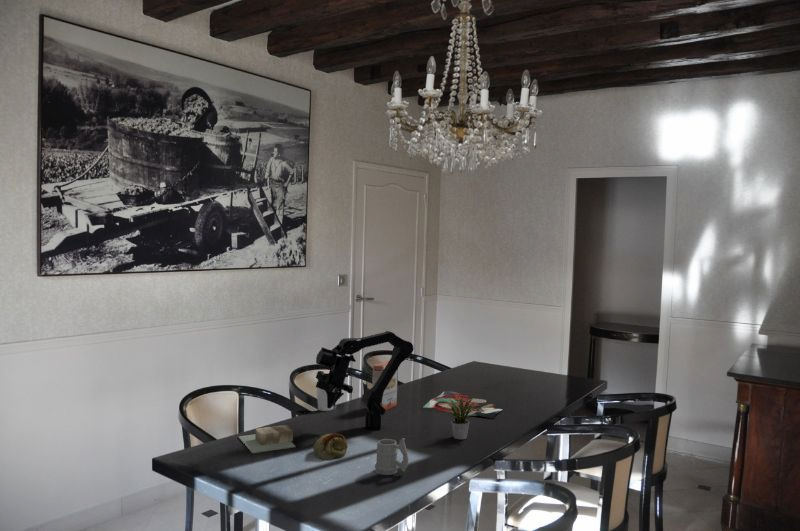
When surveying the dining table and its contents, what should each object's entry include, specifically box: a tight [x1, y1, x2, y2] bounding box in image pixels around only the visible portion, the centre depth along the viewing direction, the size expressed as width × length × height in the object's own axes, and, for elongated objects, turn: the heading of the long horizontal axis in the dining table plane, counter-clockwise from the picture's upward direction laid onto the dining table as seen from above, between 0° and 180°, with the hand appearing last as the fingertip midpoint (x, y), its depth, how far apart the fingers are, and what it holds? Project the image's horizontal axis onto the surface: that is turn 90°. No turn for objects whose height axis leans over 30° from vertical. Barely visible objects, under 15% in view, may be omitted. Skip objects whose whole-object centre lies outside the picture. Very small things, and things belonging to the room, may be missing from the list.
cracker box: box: [371, 360, 399, 412], centre depth 284 cm, size 14×6×21 cm, turn 151°
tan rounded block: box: [254, 424, 294, 445], centre depth 234 cm, size 4×8×12 cm
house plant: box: [445, 396, 477, 440], centre depth 243 cm, size 14×14×16 cm
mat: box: [238, 433, 296, 454], centre depth 233 cm, size 16×20×1 cm
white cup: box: [316, 387, 334, 412], centre depth 281 cm, size 8×8×10 cm
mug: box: [374, 437, 409, 476], centre depth 204 cm, size 8×12×12 cm, turn 63°
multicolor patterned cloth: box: [423, 390, 503, 419], centre depth 292 cm, size 35×35×2 cm
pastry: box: [313, 432, 349, 461], centre depth 222 cm, size 14×12×8 cm
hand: (328, 408), depth 246 cm, fingers closed
